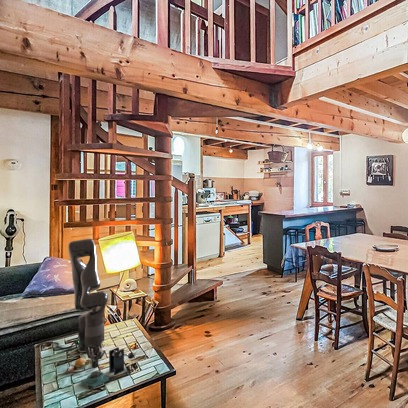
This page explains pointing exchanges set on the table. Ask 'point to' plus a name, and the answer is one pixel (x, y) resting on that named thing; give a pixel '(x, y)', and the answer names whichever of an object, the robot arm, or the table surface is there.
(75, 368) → the burger
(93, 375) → the button
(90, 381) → the button box
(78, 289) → the robot arm
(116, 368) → the bracket
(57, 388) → the table surface
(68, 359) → the table surface
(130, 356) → the lever
